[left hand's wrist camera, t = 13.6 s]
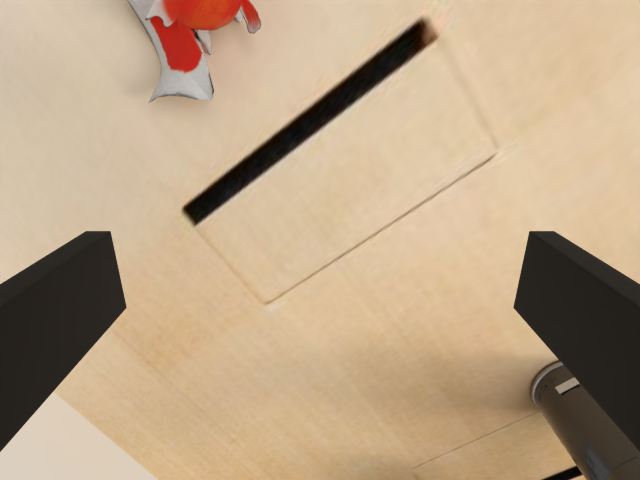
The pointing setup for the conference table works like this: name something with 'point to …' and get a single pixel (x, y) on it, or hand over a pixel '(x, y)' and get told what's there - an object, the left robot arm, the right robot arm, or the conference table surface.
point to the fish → (188, 39)
